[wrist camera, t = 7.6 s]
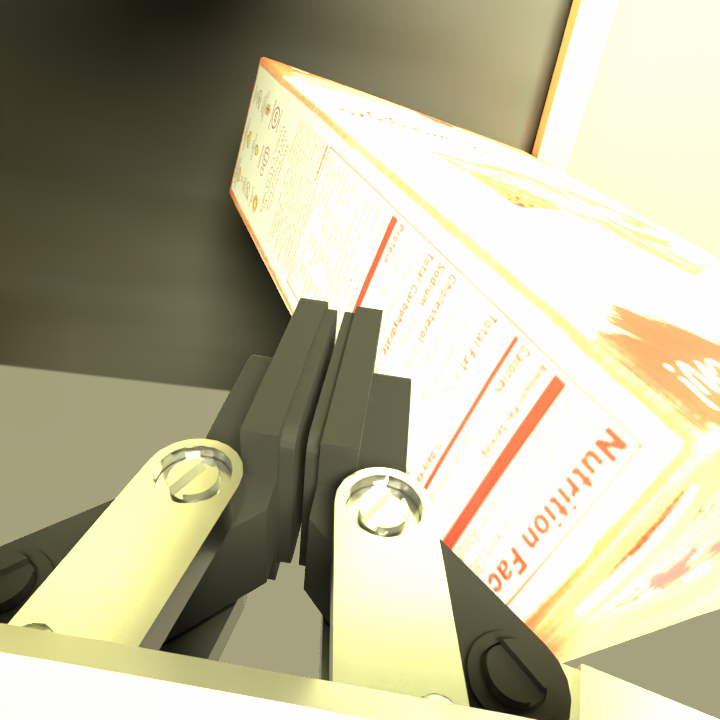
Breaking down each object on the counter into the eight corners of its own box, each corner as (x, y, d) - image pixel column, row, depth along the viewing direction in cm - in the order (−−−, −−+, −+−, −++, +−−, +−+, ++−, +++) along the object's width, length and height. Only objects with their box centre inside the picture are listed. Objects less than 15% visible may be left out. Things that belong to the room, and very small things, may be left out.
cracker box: (521, 138, 27) (1049, 429, 12) (467, 245, 30) (838, 579, 15) (256, 38, 20) (768, 449, 5) (222, 191, 23) (477, 722, 8)
